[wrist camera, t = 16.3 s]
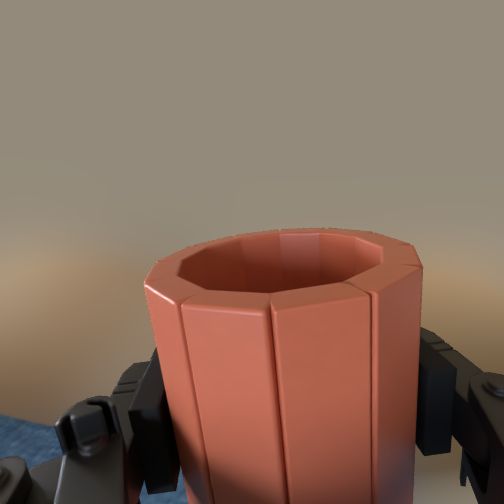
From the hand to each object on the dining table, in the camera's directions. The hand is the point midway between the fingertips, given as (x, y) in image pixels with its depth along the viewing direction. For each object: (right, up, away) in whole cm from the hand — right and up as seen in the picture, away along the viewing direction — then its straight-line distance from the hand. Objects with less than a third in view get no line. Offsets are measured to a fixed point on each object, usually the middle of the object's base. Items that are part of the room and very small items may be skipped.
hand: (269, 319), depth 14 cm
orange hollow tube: (+1, -7, -3) cm, 7 cm away
